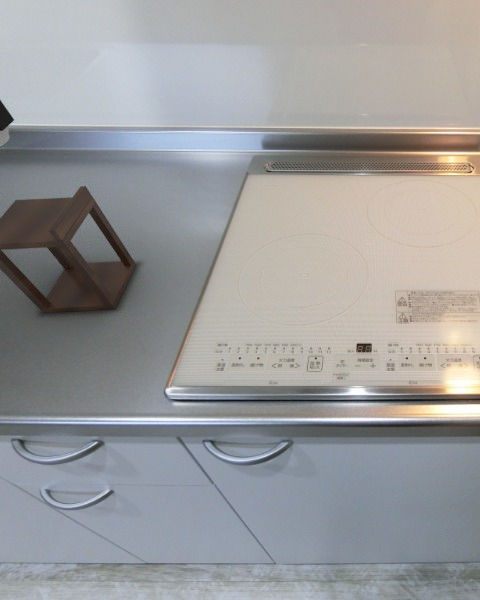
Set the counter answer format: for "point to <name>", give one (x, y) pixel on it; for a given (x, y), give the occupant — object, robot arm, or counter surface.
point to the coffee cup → (4, 136)
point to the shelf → (64, 253)
